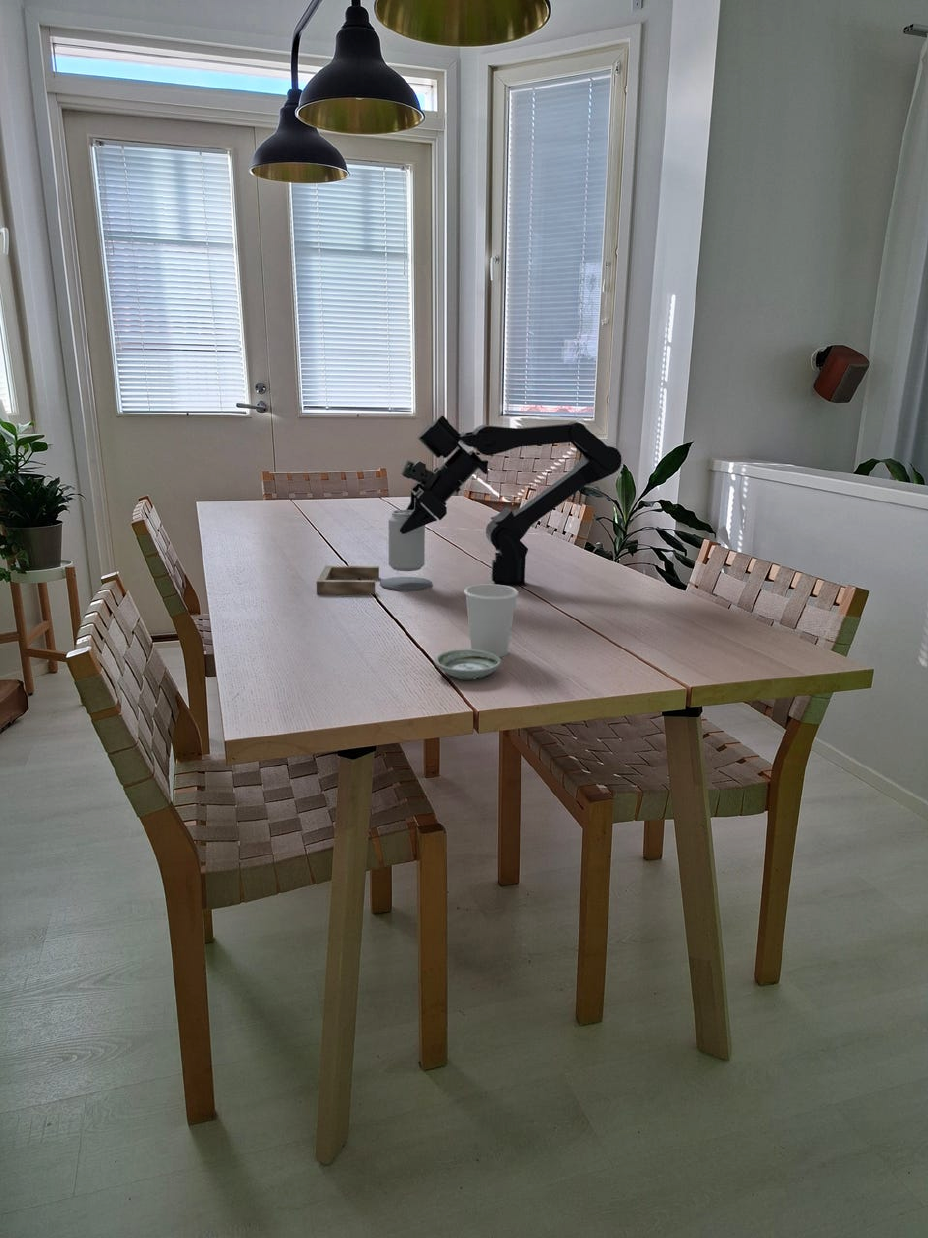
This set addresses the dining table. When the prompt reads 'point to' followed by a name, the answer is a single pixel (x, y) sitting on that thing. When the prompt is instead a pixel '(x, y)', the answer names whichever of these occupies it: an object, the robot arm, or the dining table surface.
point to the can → (405, 544)
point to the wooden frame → (347, 586)
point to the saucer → (467, 663)
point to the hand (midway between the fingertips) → (400, 529)
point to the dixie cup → (490, 616)
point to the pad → (405, 583)
